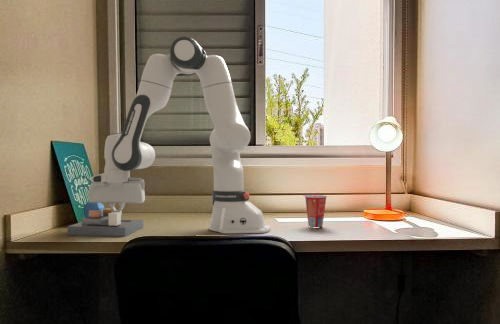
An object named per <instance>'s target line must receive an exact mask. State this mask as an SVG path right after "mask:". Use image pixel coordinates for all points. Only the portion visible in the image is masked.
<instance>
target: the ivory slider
mask: <svg viewBox="0 0 500 324" xmlns="http://www.w3.org/2000/svg"><path fill="white" fill-rule="evenodd" d="M121 219H122V215H121V212H112V213H109V214H108V225H112V226H117V225H120V224H121Z"/></svg>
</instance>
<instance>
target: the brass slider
mask: <svg viewBox="0 0 500 324" xmlns="http://www.w3.org/2000/svg"><path fill="white" fill-rule="evenodd" d="M109 213H112V210H111V208H110V207H108V208H105V209H103V216H108V214H109Z"/></svg>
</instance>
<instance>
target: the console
mask: <svg viewBox="0 0 500 324" xmlns="http://www.w3.org/2000/svg"><path fill="white" fill-rule="evenodd" d="M141 228H142V229H143V228H144V219H135V218H134V219H133V218H131V219H130V218H129V219H127V218H125V219H124V218H121V224H120V225H117V226H112V225H108V216H101V218H99V219H89V217H86V218H83V217H82V218H81V222H78V223H74V224H70V225H68V226H67V236H79V237H80V236H81V237H82V236H84V237H85V236H86V237H89V236H90V237H122V236H125V237H127V236H130V235H131V234H134V233H135V231H136V232H137V230H138V231H140V230H142V229H141ZM139 229H140V230H139ZM133 232H134V233H133Z"/></svg>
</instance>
